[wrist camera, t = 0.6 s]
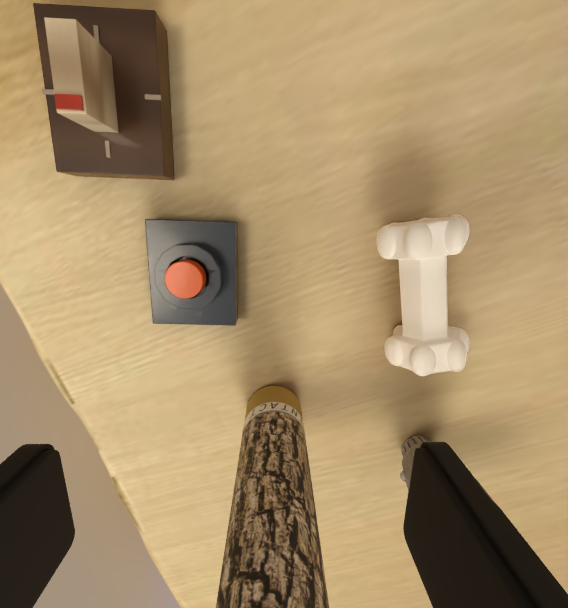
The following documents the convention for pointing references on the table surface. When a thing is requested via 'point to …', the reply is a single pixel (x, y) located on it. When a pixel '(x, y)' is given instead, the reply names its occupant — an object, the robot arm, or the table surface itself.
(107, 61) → the beige block
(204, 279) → the button
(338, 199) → the table surface
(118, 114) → the panel
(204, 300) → the button box
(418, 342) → the dog bone
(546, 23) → the table surface
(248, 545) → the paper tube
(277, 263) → the table surface
